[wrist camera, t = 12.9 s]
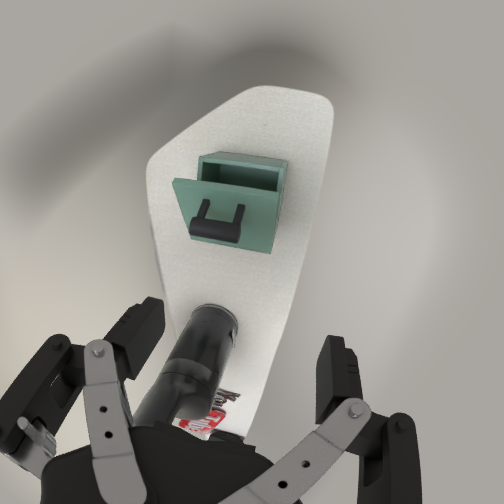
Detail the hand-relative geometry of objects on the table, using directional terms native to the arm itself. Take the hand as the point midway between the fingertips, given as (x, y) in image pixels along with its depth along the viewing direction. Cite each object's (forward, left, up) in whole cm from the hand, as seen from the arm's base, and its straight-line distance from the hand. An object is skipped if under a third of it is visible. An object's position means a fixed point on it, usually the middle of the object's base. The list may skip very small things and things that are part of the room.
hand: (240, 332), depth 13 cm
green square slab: (-3, +4, -18) cm, 19 cm away
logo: (-55, -21, -26) cm, 64 cm away
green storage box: (-3, +4, -30) cm, 31 cm away
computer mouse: (-64, -40, -26) cm, 79 cm away
